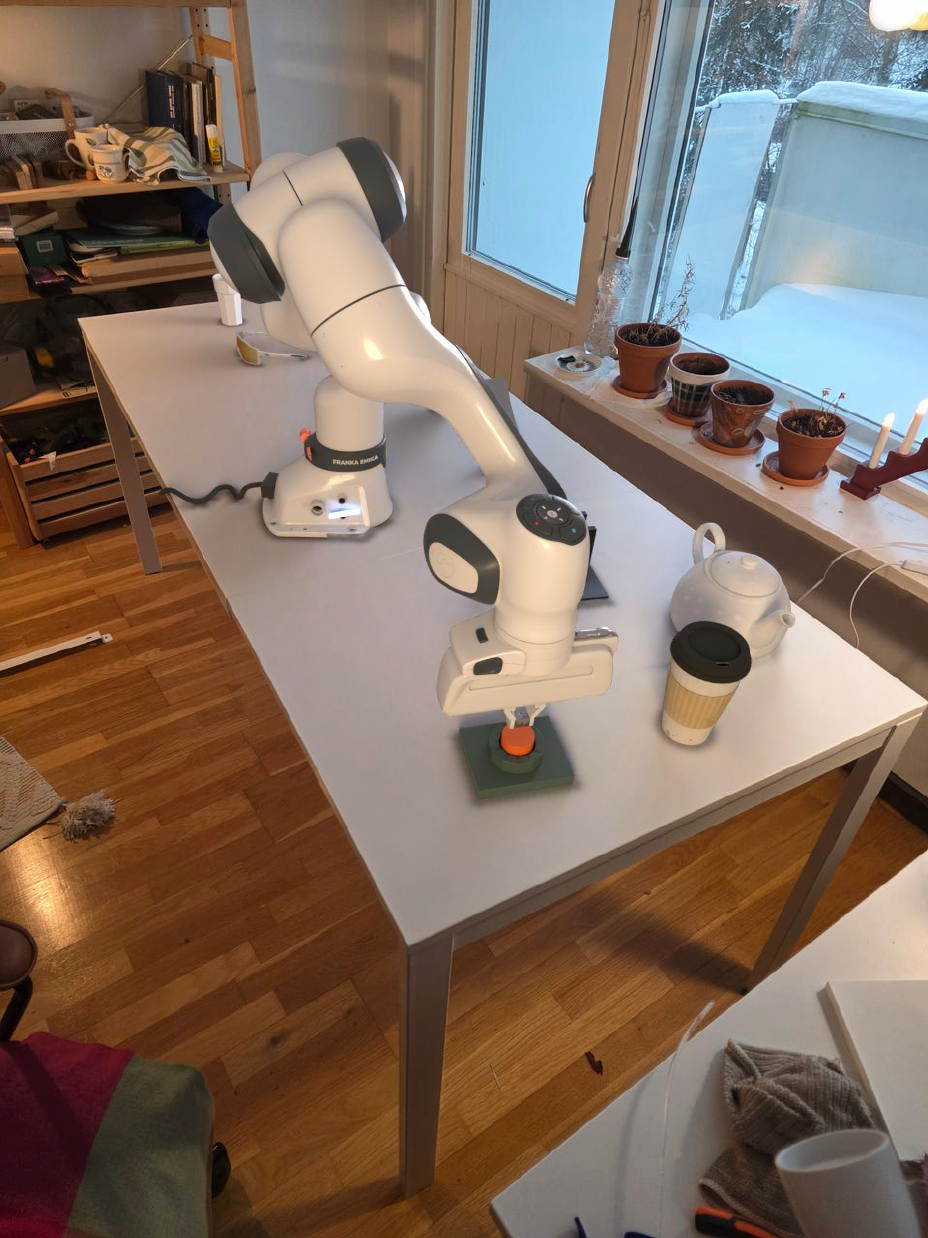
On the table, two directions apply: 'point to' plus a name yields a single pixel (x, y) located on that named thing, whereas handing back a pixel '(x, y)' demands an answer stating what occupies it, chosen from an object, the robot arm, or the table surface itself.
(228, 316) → the cup
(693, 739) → the coffee cup
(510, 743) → the button
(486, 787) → the button box
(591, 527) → the lever stand
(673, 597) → the teapot
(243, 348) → the sunglasses
